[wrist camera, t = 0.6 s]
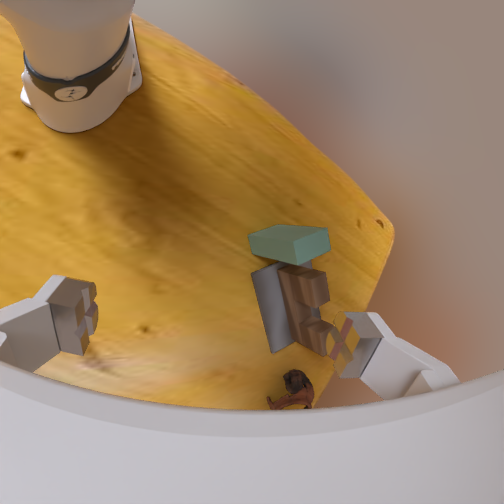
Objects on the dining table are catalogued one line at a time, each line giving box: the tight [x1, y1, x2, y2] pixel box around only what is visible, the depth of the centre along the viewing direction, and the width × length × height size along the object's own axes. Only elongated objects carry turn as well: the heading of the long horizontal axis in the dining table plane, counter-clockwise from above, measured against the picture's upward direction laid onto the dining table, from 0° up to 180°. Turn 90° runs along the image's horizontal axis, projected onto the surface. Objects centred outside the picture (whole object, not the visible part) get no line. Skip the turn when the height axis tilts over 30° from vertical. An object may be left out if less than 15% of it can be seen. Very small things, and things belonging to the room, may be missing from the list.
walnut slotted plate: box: [251, 260, 334, 357], centre depth 48 cm, size 12×16×10 cm
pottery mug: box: [267, 369, 314, 410], centre depth 52 cm, size 12×10×8 cm
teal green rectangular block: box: [248, 224, 331, 265], centre depth 43 cm, size 6×3×12 cm, turn 106°
